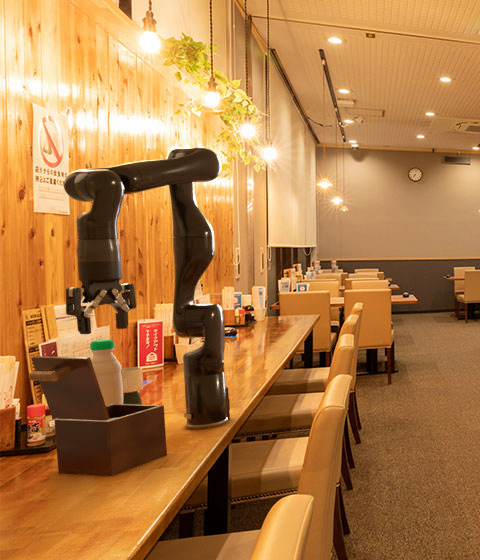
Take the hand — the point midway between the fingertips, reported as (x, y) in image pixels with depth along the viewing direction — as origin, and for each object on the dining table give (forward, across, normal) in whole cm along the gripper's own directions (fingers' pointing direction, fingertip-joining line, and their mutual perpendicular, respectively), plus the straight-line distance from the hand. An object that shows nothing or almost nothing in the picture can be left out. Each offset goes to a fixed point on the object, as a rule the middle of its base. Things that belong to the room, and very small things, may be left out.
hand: (104, 331), depth 145 cm
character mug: (+30, +37, +35) cm, 59 cm away
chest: (+30, -1, -2) cm, 30 cm away
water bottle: (+30, +17, +20) cm, 40 cm away
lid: (+11, -9, -2) cm, 14 cm away
